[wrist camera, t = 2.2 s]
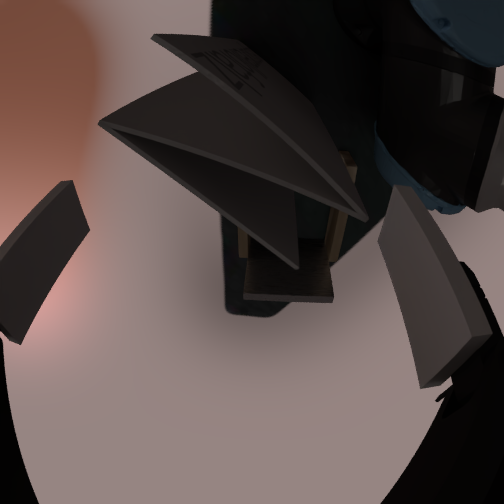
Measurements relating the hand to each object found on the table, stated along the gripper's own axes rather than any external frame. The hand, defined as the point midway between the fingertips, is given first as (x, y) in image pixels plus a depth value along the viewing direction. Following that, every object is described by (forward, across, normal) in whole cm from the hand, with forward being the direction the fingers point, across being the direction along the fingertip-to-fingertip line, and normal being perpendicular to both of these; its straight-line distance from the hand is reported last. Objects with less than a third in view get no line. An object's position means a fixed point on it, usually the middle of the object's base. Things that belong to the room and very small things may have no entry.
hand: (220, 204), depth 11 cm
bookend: (+34, +5, -29) cm, 44 cm away
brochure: (+34, 0, 0) cm, 34 cm away
